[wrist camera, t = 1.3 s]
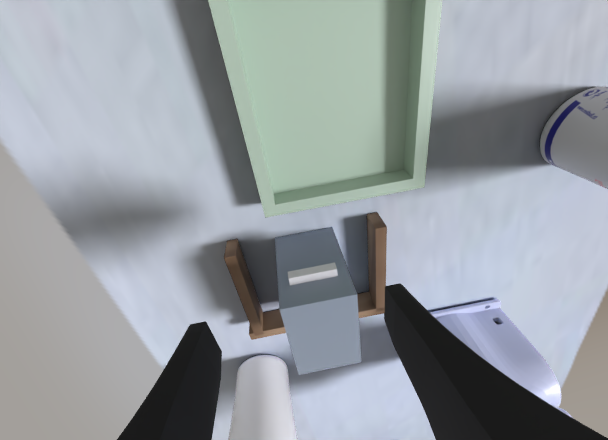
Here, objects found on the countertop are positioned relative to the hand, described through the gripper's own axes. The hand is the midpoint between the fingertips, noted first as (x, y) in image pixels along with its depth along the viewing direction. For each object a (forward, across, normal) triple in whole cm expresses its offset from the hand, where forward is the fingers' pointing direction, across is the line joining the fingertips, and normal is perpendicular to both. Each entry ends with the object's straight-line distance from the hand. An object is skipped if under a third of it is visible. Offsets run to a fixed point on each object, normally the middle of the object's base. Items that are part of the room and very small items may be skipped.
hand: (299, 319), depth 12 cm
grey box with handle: (+10, -1, +7) cm, 12 cm away
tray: (+10, -4, -6) cm, 13 cm away
